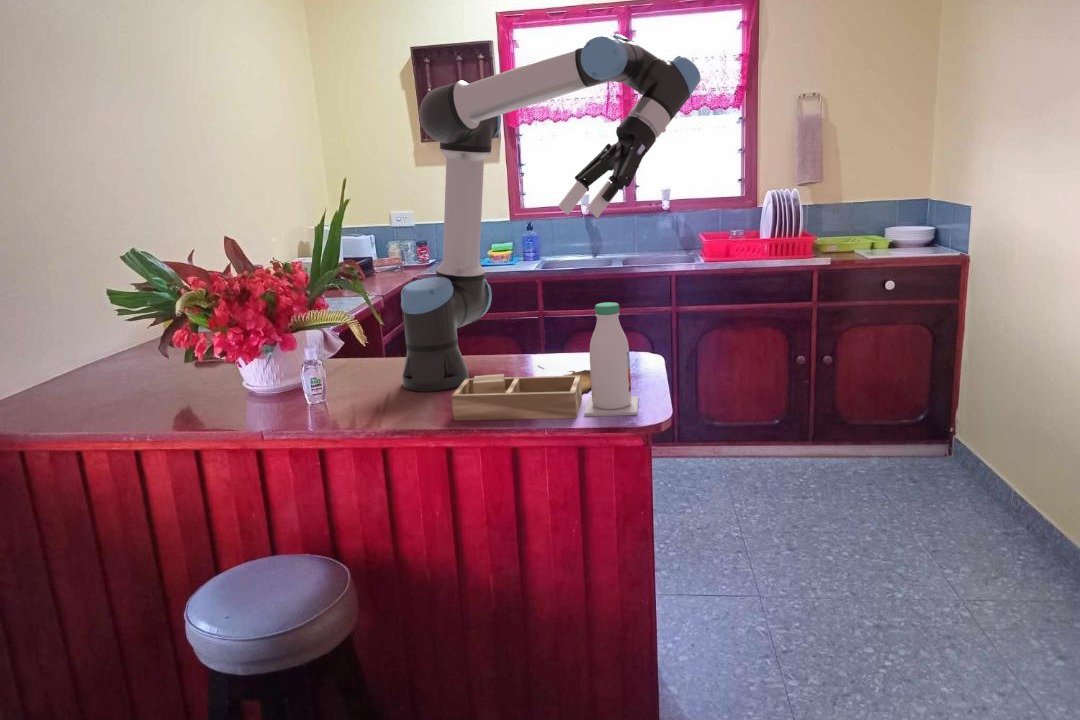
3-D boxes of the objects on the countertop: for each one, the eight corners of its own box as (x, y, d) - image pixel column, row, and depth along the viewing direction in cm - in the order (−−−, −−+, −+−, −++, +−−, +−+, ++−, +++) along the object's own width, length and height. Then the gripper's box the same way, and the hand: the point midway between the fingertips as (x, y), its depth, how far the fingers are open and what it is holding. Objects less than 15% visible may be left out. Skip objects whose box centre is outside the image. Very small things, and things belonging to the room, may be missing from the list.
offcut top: (475, 392, 160) (474, 376, 159) (505, 390, 160) (503, 374, 159) (474, 400, 155) (472, 383, 154) (504, 397, 155) (503, 380, 154)
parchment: (568, 371, 183) (568, 368, 183) (609, 371, 180) (608, 368, 180) (530, 406, 161) (530, 402, 161) (576, 407, 158) (575, 403, 157)
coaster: (588, 400, 160) (588, 397, 160) (638, 398, 159) (638, 396, 158) (584, 416, 151) (584, 413, 150) (637, 415, 149) (637, 412, 149)
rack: (468, 401, 165) (465, 378, 164) (581, 398, 161) (580, 375, 160) (454, 420, 154) (451, 396, 152) (576, 418, 150) (574, 392, 149)
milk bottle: (626, 411, 150) (622, 308, 145) (587, 409, 152) (581, 308, 147) (635, 398, 157) (631, 300, 152) (598, 397, 159) (592, 300, 154)
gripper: (688, 137, 145) (619, 227, 144) (624, 143, 168) (564, 221, 166) (662, 108, 142) (591, 200, 141) (601, 118, 165) (539, 197, 163)
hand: (577, 211), depth 153 cm, fingers open, 13 cm apart
